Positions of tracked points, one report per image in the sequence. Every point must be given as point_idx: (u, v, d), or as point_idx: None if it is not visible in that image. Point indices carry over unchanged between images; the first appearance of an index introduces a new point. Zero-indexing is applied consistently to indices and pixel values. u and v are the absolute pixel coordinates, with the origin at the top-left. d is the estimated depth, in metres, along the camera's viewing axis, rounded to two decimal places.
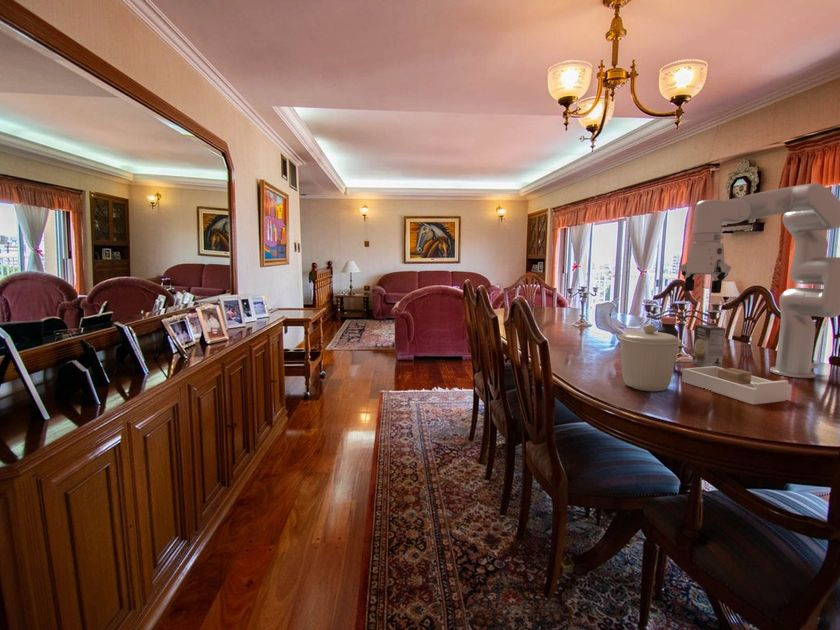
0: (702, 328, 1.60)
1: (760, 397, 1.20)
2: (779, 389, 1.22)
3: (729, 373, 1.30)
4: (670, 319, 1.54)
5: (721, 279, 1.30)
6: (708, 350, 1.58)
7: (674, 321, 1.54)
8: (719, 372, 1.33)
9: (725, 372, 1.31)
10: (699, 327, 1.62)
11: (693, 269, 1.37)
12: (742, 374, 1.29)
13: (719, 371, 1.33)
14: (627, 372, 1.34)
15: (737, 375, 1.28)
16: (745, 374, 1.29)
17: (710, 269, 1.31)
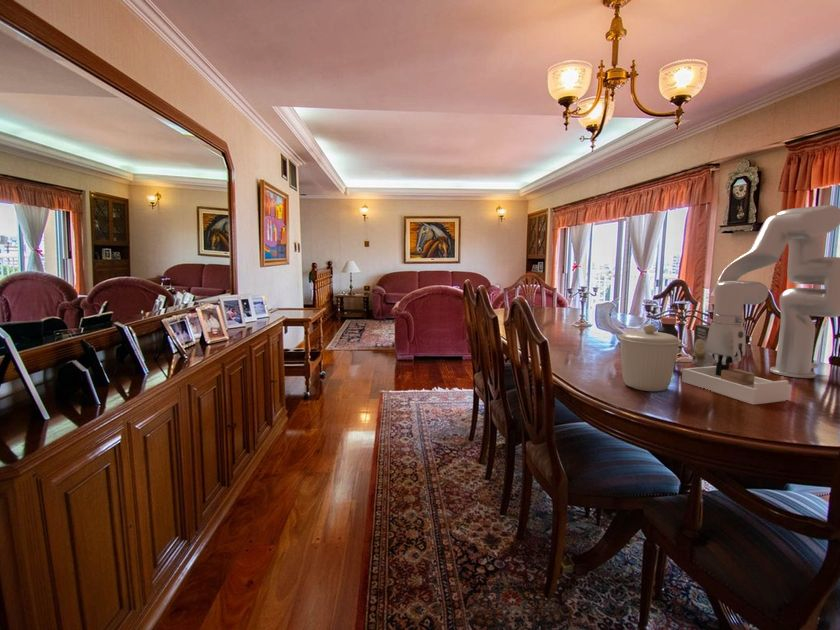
0: (702, 328, 1.60)
1: (760, 397, 1.20)
2: (779, 389, 1.22)
3: (732, 374, 1.29)
4: (670, 319, 1.54)
5: (728, 363, 1.34)
6: None
7: (674, 321, 1.54)
8: (722, 373, 1.32)
9: (728, 373, 1.30)
10: (699, 327, 1.62)
11: (713, 349, 1.36)
12: (745, 375, 1.28)
13: (722, 372, 1.32)
14: (627, 372, 1.34)
15: (740, 376, 1.27)
16: (748, 375, 1.28)
17: (731, 352, 1.30)
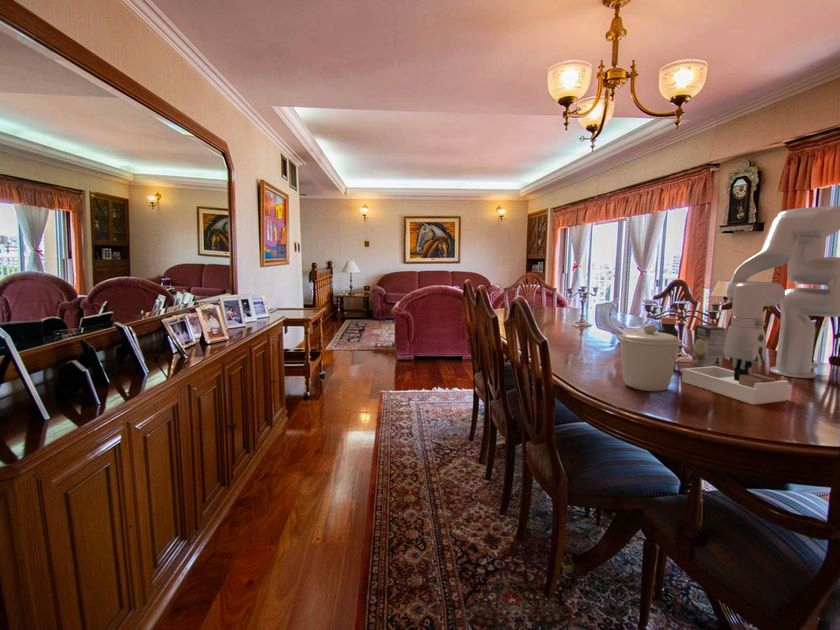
0: (702, 328, 1.60)
1: (760, 397, 1.20)
2: (779, 389, 1.22)
3: (751, 379, 1.23)
4: (670, 319, 1.54)
5: (747, 368, 1.28)
6: (708, 350, 1.58)
7: (674, 321, 1.54)
8: (740, 378, 1.27)
9: (747, 378, 1.25)
10: (699, 327, 1.62)
11: (731, 352, 1.30)
12: (765, 380, 1.22)
13: (740, 377, 1.27)
14: (627, 372, 1.34)
15: (760, 381, 1.21)
16: (769, 380, 1.22)
17: (751, 356, 1.24)
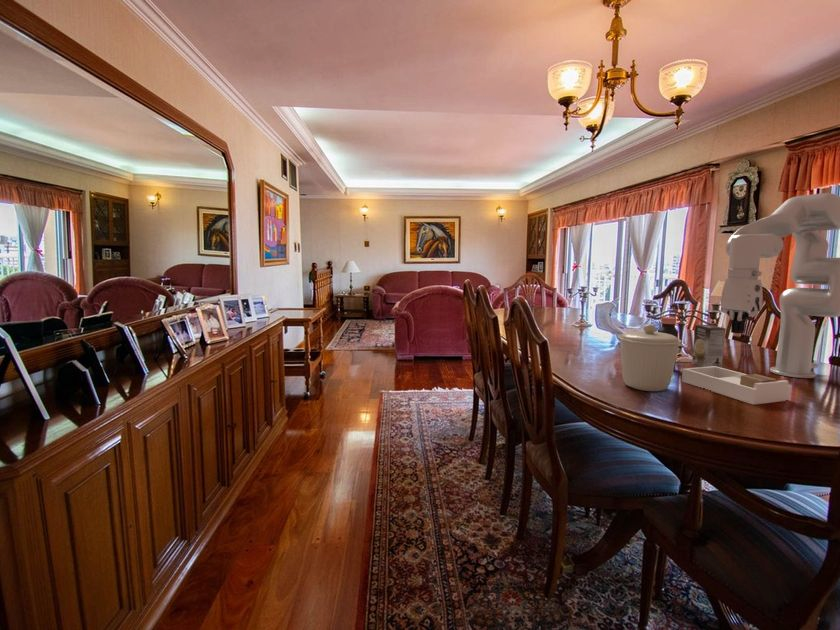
0: (702, 328, 1.60)
1: (760, 397, 1.20)
2: (779, 389, 1.22)
3: (753, 380, 1.23)
4: (670, 319, 1.54)
5: (744, 319, 1.28)
6: (708, 350, 1.58)
7: (674, 321, 1.54)
8: (741, 378, 1.26)
9: (748, 379, 1.24)
10: (699, 327, 1.62)
11: (728, 305, 1.31)
12: (767, 381, 1.21)
13: (742, 377, 1.26)
14: (627, 372, 1.34)
15: None
16: (770, 381, 1.22)
17: (747, 307, 1.25)
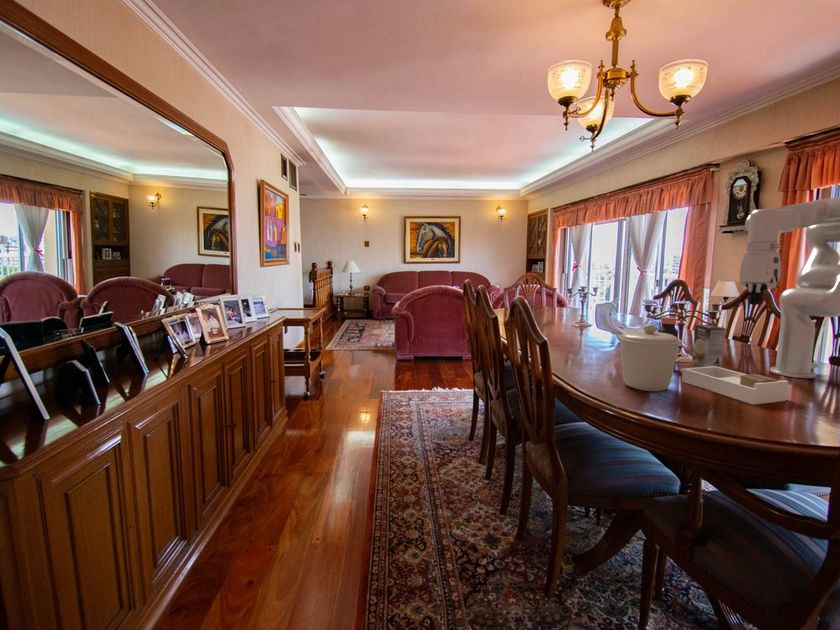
0: (702, 328, 1.60)
1: (760, 397, 1.20)
2: (779, 389, 1.22)
3: (753, 380, 1.23)
4: (670, 319, 1.54)
5: (763, 291, 1.34)
6: (708, 350, 1.58)
7: (674, 321, 1.54)
8: (741, 378, 1.26)
9: (748, 379, 1.24)
10: (699, 327, 1.62)
11: (747, 278, 1.36)
12: (767, 381, 1.21)
13: (742, 377, 1.26)
14: (627, 372, 1.34)
15: None
16: (770, 381, 1.22)
17: (766, 278, 1.31)
